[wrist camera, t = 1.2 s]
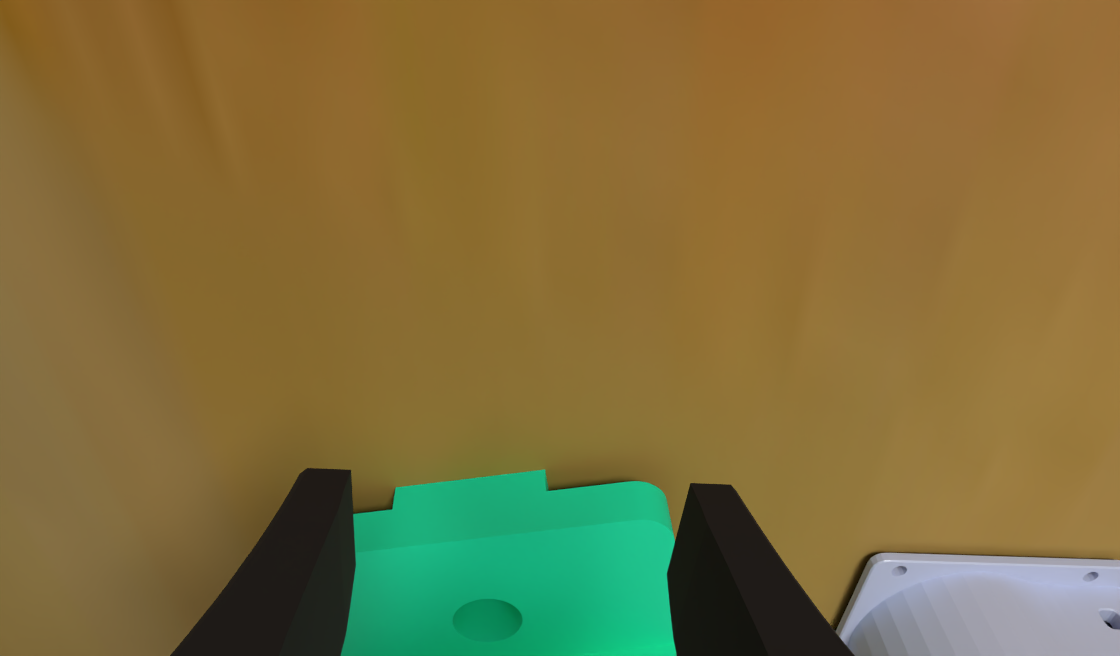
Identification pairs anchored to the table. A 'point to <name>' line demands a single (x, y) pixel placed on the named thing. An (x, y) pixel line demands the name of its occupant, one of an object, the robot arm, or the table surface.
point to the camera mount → (513, 571)
